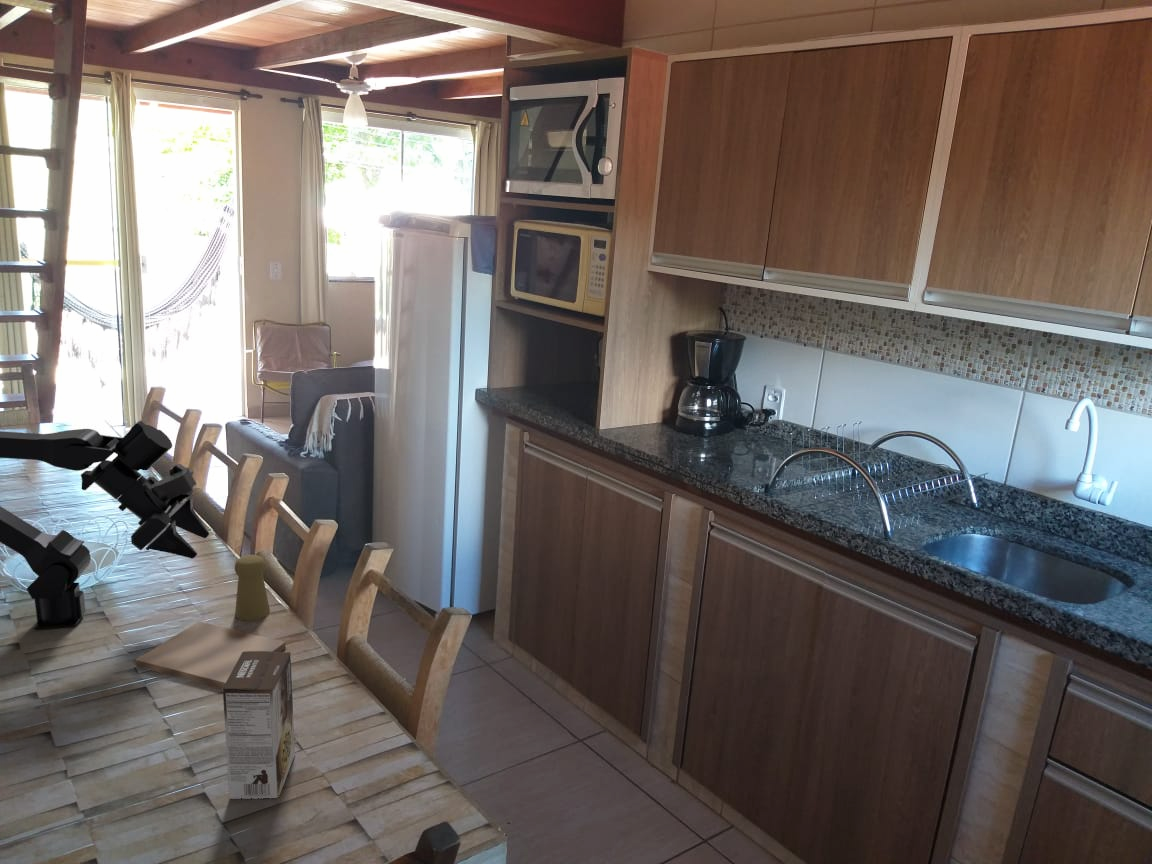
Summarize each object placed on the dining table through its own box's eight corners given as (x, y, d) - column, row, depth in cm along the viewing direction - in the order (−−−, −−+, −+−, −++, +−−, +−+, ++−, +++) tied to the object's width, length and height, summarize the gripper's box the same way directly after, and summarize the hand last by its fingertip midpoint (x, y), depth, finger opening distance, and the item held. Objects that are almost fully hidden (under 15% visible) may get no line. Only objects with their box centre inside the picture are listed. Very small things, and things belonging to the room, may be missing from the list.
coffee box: (248, 755, 115) (242, 649, 111) (296, 754, 115) (292, 649, 111) (227, 800, 106) (220, 687, 102) (279, 800, 106) (274, 687, 102)
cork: (258, 622, 150) (255, 566, 147) (228, 618, 151) (224, 561, 148) (276, 608, 156) (274, 553, 153) (247, 603, 157) (244, 549, 154)
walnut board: (135, 666, 134) (135, 659, 134) (198, 627, 147) (198, 621, 147) (228, 690, 129) (228, 683, 129) (285, 648, 142) (285, 641, 142)
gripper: (146, 472, 135) (223, 535, 140) (177, 441, 152) (243, 497, 157) (97, 519, 135) (175, 580, 140) (133, 482, 153) (201, 537, 158)
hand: (201, 546), depth 149 cm, fingers open, 9 cm apart
